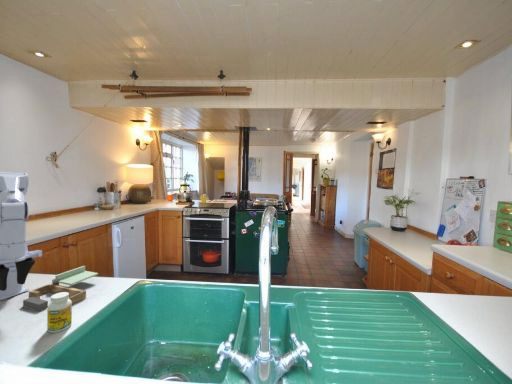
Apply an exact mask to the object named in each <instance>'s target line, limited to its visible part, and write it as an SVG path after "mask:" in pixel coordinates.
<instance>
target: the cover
mask: <svg viewBox="0 0 512 384" xmlns="http://www.w3.org/2000/svg"><path fill="white" fill-rule="evenodd" d="M96 276H99V273H98V272H95V271H88V270H86V265H82V266H78V267H77V268H73V269H70V270H67V271H64V272H61V273H59V274H56V275H55V278H53V279H52V281H51V283H52V284H53V283H59V284H63V285H66V286H67V285H68V286H73V285H76V284H79V283H81V282H84V281H85V280H89V279H91V278H93V277H96Z"/></svg>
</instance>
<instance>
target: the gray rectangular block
mask: <svg viewBox="0 0 512 384" xmlns="http://www.w3.org/2000/svg"><path fill="white" fill-rule="evenodd" d="M48 305H49V301H48V300H45V299H41V298H40V299H38V298H34V297H30V298H29V297H28V298H26V299H25V298H24V299H23V301H22V307H24V308H27V309H30V310H33V311H38V312H40V311H43V310H46V309H47V308H48Z"/></svg>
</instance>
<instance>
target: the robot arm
mask: <svg viewBox="0 0 512 384" xmlns="http://www.w3.org/2000/svg"><path fill="white" fill-rule="evenodd" d="M29 180H30V178H29V174H28V172H25V171H24V172H16V171H15V172H13V171H12V172H11V171H0V301H4V300H6V299H8V298H12V297H14V296H17V295H20V294H22V293H26V292H29V291H30V289H29V288H26V287H23V286H24V285H25V283H26V280H27V277H28V275H29V273H30V271H31V269H32V268H33V267H34V265H35V263H36V260H35V259H36V258H41V257H43V250H41V249H40V250H39V249H36V250H28V249H29V248H28V245H27V221H28V219H29V213H30V210H29V203H28V201H26V200H25V196H26V195H27V192H28V188H29ZM34 258H35V259H34Z"/></svg>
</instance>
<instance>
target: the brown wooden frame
mask: <svg viewBox="0 0 512 384" xmlns="http://www.w3.org/2000/svg"><path fill="white" fill-rule="evenodd" d="M49 291H50V293H54V292H55V293H54V294H56V293H60V292H68V293H69V298H68V299H70V300H71V301H72V305H73V304H75V303H78V302H80V301H82V300H84V299H86V298H87V290H83V289H79V288H75V287H70V286H67V285H61V284H60V283H52V282H51V283H48V284H46V285H42V286H40V287H37V288H34V289H32V290H28V298H30V297H34V298H38V299H41V295H44V294H46V293H48V292H49ZM45 292H46V293H45ZM40 294H41V295H40Z"/></svg>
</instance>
